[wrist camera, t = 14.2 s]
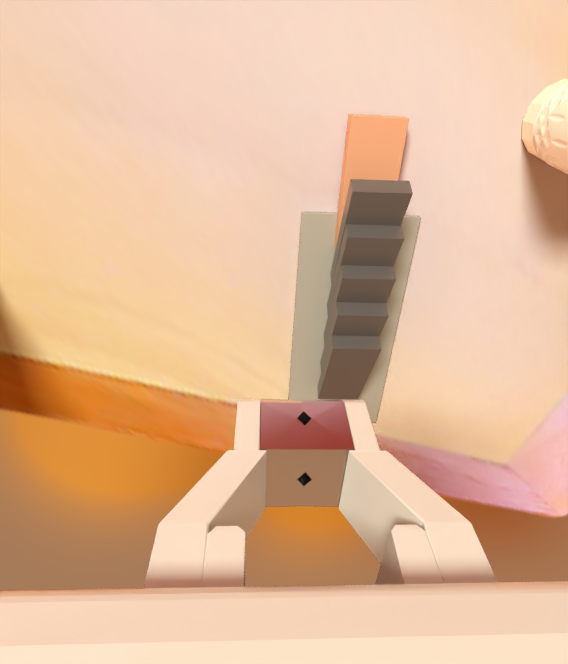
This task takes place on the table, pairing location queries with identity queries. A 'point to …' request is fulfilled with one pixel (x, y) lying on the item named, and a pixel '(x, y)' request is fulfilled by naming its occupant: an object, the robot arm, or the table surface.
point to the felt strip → (313, 308)
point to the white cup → (548, 126)
